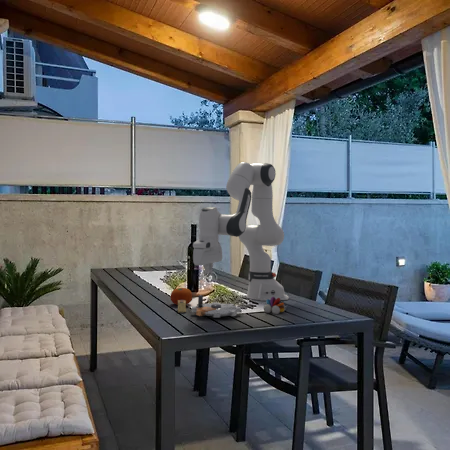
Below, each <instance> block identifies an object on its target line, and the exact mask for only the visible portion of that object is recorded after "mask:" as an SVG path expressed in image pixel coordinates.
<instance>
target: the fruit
mask: <svg viewBox="0 0 450 450" xmlns="http://www.w3.org/2000/svg"><path fill="white" fill-rule="evenodd" d="M178 300H186V305H188V304H190V303H191V302H192V300H193V293H192V291H191V290H190V289H189V288H186V287H179V288H174V289H173V290H172V291H171V293H170V301H171V302H172V304H174V305H177V306H178Z"/></svg>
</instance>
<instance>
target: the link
mask: <svg viewBox="0 0 450 450" xmlns="http://www.w3.org/2000/svg"><path fill="white" fill-rule="evenodd" d="M186 311H187V304H186V300H178V305H177V313H186Z"/></svg>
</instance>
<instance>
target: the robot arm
mask: <svg viewBox="0 0 450 450" xmlns="http://www.w3.org/2000/svg"><path fill="white" fill-rule="evenodd" d="M276 175H277V173H276V168H275V167H274V166H273V164H272V163H268V162H265V163H263V162H262V163H261V162H260V163H259V162H256V163H255V162H254V163H249V162H246V161H245V162H244V161H241V162H239V163H238V164H237V165H236V166H235V168H234V169H233V170H232V172H231V173H230V176H229V177H228V179H227V182H226V184H225V185H226V191H227V193H228V194H229V196H230V197H232V198H233V199H235V200H237V201H238V205H237V209H236V212H235V213H232V214H224V213H221V212H219V211H218V207H215V206H209V207H208V206H206V207H203V208H202V209H201V210H200V213H199V219H198V228H199V233H198V239H197V240H196V241H194V242H193V243H192V247H193V248H194V249H193V251H192V252H193V254H192V260H193V261H192V263H193V264H194V266H199V267H200V266H203V268H204V274H205V275H207V274H211V273H212V271H213V270H212V269H213V267H214V264H215V263H218V262H219V263H220V262H222V261H223V249H222V245H221V243H220V242H219V236H230V237H238V239H239V241H240V242H241V243H242V244H243V245H244V246H245V248H246V250H247V253H248V256H249V271H248V281H249V282H248V288H247V292H246V295H245V296H246V298H247V299H250V300H254V301H255V300H257V301H262V302H263V301H264V302H266V300H267V299H269V300H271V298H272V297H275V299H277V298H280V301H288V300H289V299H290V298H289V297H290V296H288V295H287V294H285V289H284V286H283V285H282V284H281V283H280V282H278V281H277V280H276V279H275V278H276V277H277V273H276V272H273V271H271V267H272V266H271V265H272V262H271V261H272V259H271V256H270V254H268V253H267V252H266V251H264V248H263V247H265V246H266V247H274V246H280V245H281V244H282V243H283V242H284V239H285V232H284V230H283V228H282V227H281V226H280V225H279V224H278V223H277V221H276V219H275V217H274V211H273V199H274V198H273V185H272V184H273V183H274V181H275V178H276ZM251 186H252V192H251V190H250V187H251ZM250 205H251V214H252V215H253V217H255V218H257V219H258V221H259V224H253V223H252V224H247V218H248V216H249V215H248V214H249V210H250Z"/></svg>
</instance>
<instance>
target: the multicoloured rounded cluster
mask: <svg viewBox="0 0 450 450" xmlns="http://www.w3.org/2000/svg"><path fill="white" fill-rule="evenodd" d="M265 302H266V304H265V305H264V306H263V311H264V312H265V313H266V314H270V313H271V314H273V315H278V314H280V313H284V312H285V311H286V306H285V303H284V302H281V300H280V298H277V299H275V297H272V298H271V300H269V299H267V300H266V301H265Z"/></svg>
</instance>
